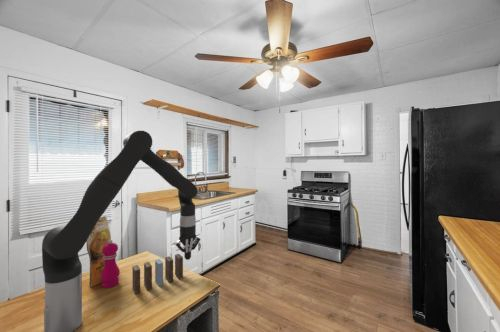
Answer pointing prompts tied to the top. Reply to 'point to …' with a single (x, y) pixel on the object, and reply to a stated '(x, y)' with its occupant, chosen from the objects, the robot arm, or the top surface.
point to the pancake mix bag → (97, 250)
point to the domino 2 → (148, 276)
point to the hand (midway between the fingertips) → (187, 259)
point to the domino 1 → (136, 279)
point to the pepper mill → (110, 265)
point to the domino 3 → (159, 272)
